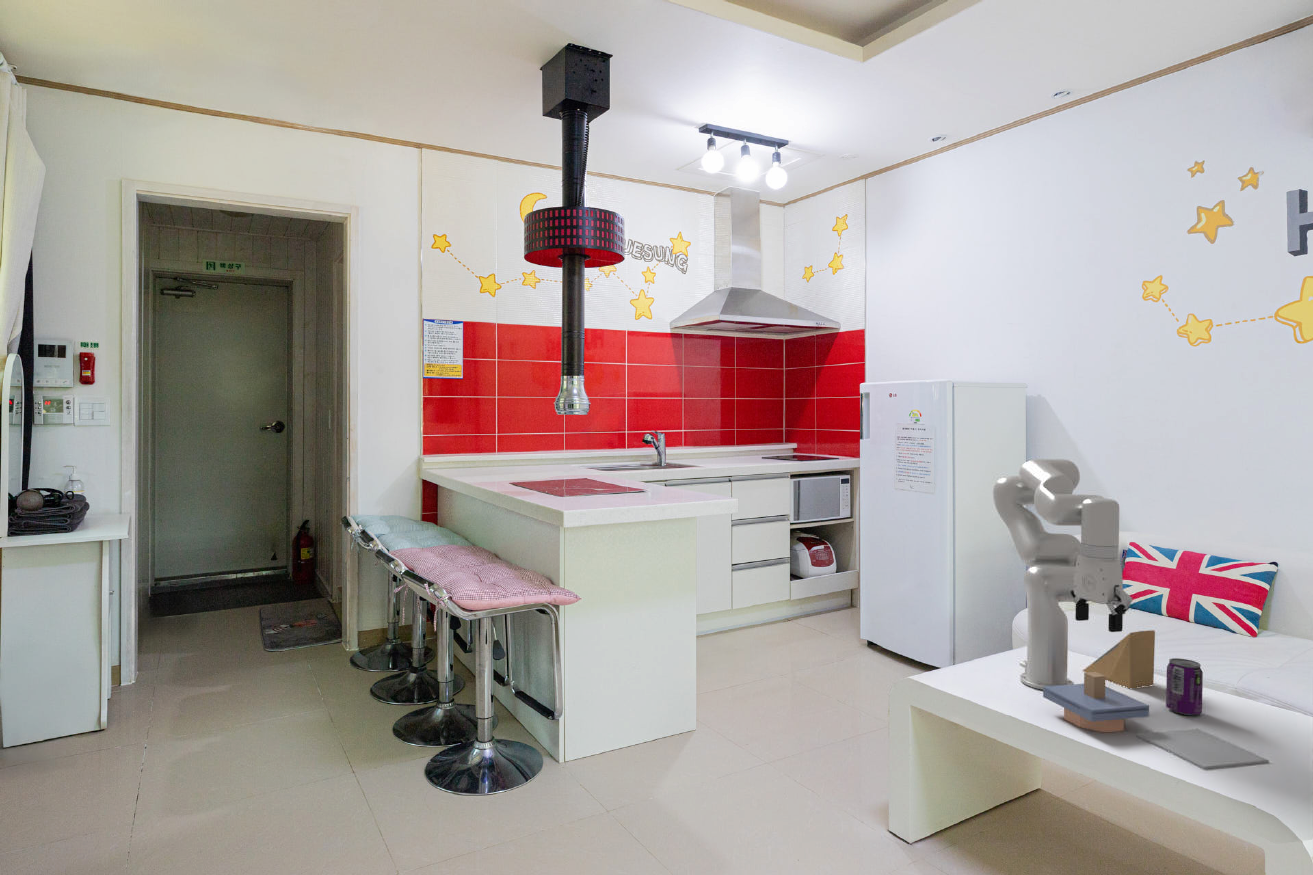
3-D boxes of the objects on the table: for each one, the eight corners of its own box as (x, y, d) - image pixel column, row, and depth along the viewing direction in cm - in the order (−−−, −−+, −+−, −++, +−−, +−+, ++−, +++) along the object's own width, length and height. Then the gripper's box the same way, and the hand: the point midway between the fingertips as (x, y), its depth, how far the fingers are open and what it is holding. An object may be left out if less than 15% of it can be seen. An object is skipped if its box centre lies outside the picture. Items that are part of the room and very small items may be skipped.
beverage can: (1208, 718, 176) (1209, 667, 175) (1174, 716, 177) (1175, 665, 177) (1192, 707, 183) (1193, 658, 182) (1160, 704, 184) (1161, 656, 184)
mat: (1137, 736, 165) (1137, 733, 165) (1197, 730, 169) (1197, 728, 169) (1203, 769, 150) (1203, 766, 150) (1268, 762, 153) (1268, 759, 153)
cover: (1043, 696, 179) (1043, 665, 179) (1096, 692, 182) (1097, 662, 182) (1091, 721, 165) (1091, 687, 164) (1148, 716, 168) (1149, 683, 168)
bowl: (1053, 713, 178) (1053, 692, 178) (1096, 709, 181) (1096, 689, 180) (1091, 733, 167) (1092, 711, 166) (1137, 729, 169) (1137, 707, 169)
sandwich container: (1104, 668, 212) (1105, 615, 212) (1154, 686, 198) (1155, 630, 197) (1080, 670, 210) (1081, 617, 209) (1129, 689, 195) (1130, 632, 195)
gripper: (1057, 546, 180) (1056, 617, 181) (1116, 559, 163) (1115, 637, 164) (1084, 545, 182) (1083, 615, 182) (1145, 558, 165) (1143, 635, 165)
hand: (1098, 625), depth 173 cm, fingers open, 9 cm apart
